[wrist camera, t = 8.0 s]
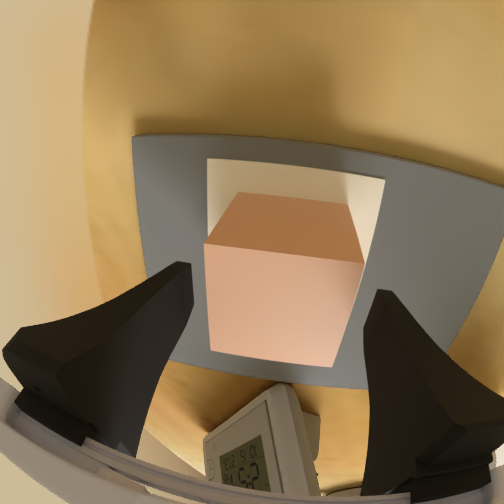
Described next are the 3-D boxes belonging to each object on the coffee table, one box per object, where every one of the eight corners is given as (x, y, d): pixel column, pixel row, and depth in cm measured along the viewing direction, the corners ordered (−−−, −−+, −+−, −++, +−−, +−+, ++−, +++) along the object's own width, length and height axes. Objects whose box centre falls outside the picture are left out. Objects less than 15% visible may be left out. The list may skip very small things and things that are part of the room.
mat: (509, 188, 11) (518, 194, 10) (418, 382, 19) (420, 391, 19) (139, 134, 14) (130, 137, 13) (168, 351, 22) (164, 359, 21)
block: (347, 204, 13) (364, 263, 9) (329, 293, 15) (331, 367, 11) (238, 192, 14) (203, 243, 9) (236, 281, 16) (210, 350, 12)
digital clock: (286, 368, 21) (263, 507, 12) (358, 411, 22) (357, 522, 13) (182, 420, 29) (151, 501, 19) (245, 451, 30) (227, 526, 21)
